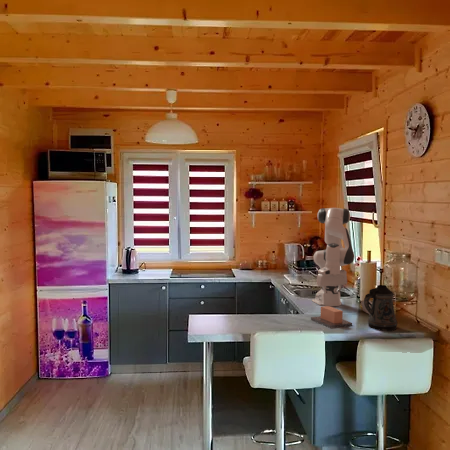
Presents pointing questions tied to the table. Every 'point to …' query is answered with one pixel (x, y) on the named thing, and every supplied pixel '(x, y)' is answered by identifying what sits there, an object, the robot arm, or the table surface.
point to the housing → (331, 314)
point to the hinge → (364, 306)
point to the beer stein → (381, 309)
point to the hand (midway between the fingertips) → (331, 292)
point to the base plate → (330, 324)
